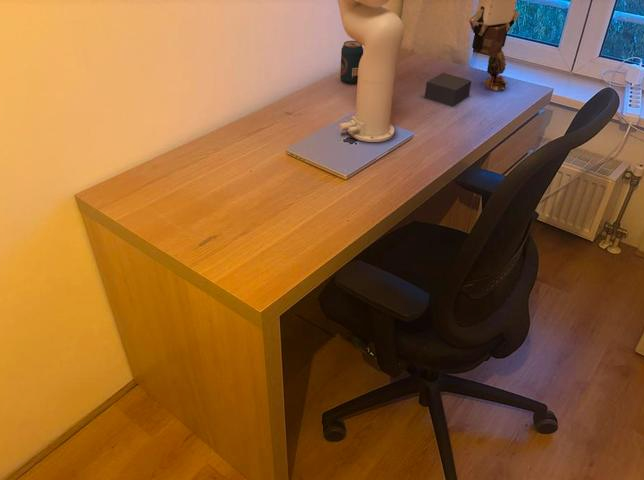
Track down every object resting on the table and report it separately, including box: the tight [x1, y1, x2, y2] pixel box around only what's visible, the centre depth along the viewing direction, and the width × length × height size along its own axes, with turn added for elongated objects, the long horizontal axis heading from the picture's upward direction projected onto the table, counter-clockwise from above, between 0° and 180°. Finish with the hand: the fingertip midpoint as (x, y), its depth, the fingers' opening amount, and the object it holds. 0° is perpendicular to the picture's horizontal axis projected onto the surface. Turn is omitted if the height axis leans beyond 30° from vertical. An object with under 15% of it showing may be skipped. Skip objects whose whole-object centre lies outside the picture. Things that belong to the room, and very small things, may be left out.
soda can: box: [339, 40, 364, 86], centre depth 171 cm, size 7×7×12 cm
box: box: [472, 24, 507, 57], centre depth 149 cm, size 6×6×7 cm
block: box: [424, 72, 472, 107], centre depth 165 cm, size 10×10×5 cm
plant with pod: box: [482, 49, 508, 92], centre depth 167 cm, size 8×11×20 cm
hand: (487, 46), depth 151 cm, fingers closed on box, 7 cm apart
